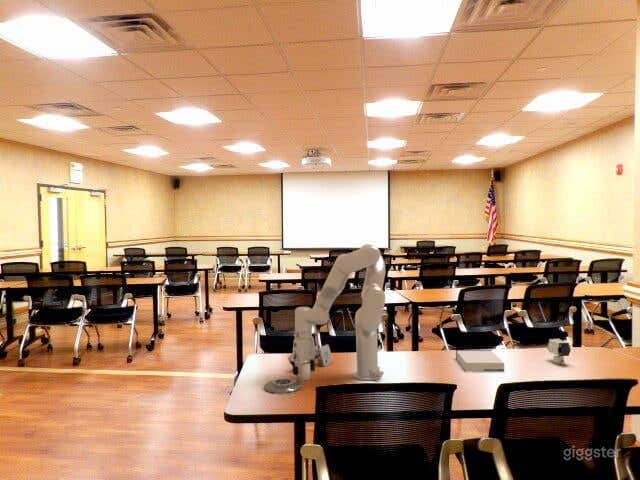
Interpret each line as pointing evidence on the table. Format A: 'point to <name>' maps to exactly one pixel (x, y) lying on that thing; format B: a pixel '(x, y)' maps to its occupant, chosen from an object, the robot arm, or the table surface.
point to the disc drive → (479, 361)
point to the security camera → (558, 349)
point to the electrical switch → (324, 356)
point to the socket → (283, 386)
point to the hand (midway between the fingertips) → (303, 372)
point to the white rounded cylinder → (304, 371)
